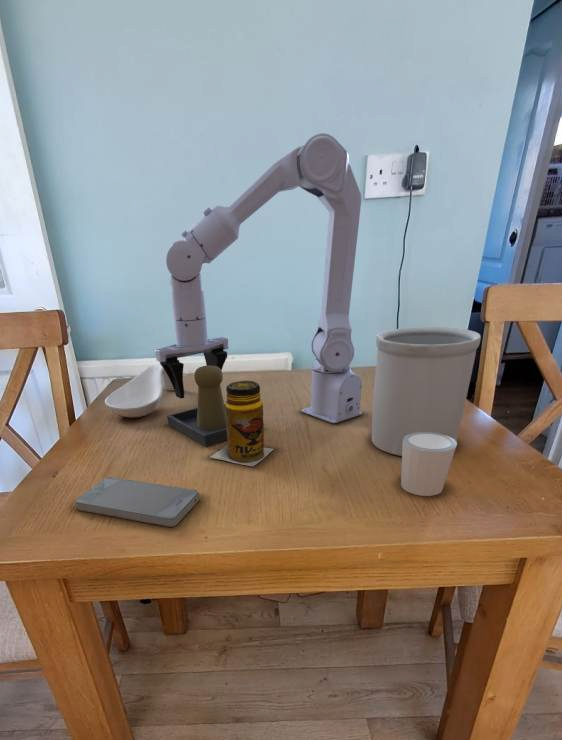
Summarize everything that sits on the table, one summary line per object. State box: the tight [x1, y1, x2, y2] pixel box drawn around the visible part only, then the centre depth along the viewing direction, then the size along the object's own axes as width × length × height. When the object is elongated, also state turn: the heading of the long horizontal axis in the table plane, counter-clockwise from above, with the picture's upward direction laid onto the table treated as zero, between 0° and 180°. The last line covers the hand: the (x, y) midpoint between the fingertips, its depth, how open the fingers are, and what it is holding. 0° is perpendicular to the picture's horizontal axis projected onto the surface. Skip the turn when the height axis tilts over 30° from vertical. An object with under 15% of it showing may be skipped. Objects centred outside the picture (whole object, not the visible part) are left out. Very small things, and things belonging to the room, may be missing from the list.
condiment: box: [209, 380, 274, 467], centre depth 75 cm, size 7×8×12 cm
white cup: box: [400, 432, 458, 497], centre depth 64 cm, size 7×7×7 cm
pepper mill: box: [193, 365, 226, 430], centre depth 87 cm, size 6×6×11 cm
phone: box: [75, 476, 200, 528], centre depth 65 cm, size 8×16×1 cm, turn 68°
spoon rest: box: [104, 365, 174, 419], centre depth 102 cm, size 24×12×7 cm, turn 162°
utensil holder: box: [371, 326, 482, 457], centre depth 75 cm, size 15×15×18 cm
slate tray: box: [166, 403, 227, 448], centre depth 89 cm, size 14×12×2 cm
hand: (197, 392), depth 90 cm, fingers open, 7 cm apart
